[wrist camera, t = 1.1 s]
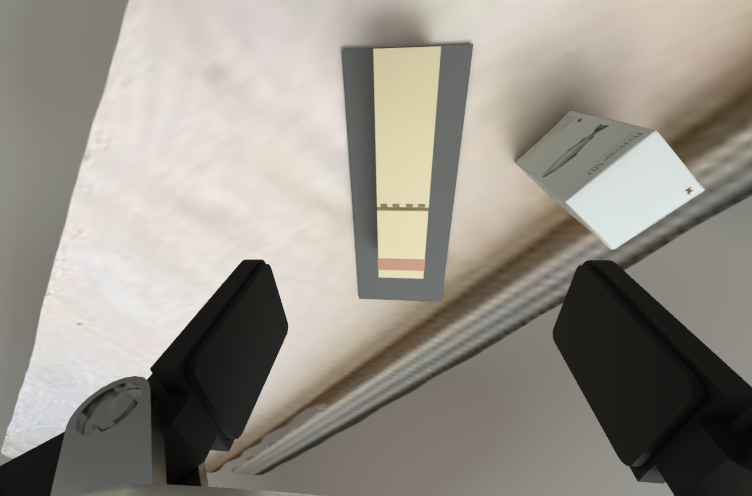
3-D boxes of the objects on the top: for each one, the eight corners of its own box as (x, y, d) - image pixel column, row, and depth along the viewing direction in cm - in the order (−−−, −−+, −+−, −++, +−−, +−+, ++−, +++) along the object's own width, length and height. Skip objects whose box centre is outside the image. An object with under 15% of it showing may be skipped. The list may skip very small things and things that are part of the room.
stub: (380, 191, 36) (376, 210, 31) (425, 191, 36) (429, 211, 30) (381, 251, 41) (378, 277, 35) (420, 252, 40) (423, 278, 35)
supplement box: (569, 107, 30) (661, 125, 20) (608, 153, 32) (711, 191, 22) (511, 161, 34) (563, 201, 23) (550, 199, 36) (614, 253, 25)
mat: (342, 49, 29) (341, 49, 29) (471, 44, 28) (473, 44, 28) (359, 296, 46) (359, 298, 46) (440, 299, 45) (441, 301, 45)
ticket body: (377, 53, 29) (371, 48, 23) (433, 51, 28) (441, 46, 23) (379, 187, 36) (376, 207, 31) (424, 187, 36) (428, 207, 30)
